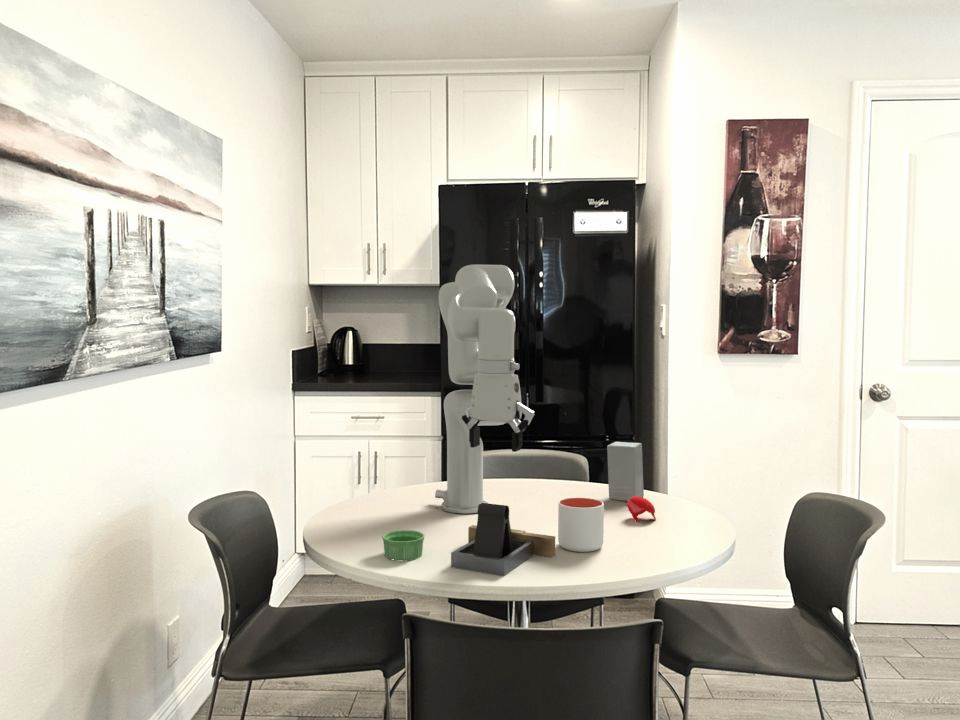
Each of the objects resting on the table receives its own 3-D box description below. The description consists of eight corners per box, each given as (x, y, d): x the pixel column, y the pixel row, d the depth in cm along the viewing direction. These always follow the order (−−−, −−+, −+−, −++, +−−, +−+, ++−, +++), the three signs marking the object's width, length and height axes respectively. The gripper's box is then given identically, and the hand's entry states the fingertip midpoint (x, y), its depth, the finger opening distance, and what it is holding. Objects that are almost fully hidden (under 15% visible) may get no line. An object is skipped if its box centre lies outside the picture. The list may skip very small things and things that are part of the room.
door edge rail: (468, 544, 177) (468, 525, 177) (472, 542, 179) (472, 523, 179) (551, 557, 169) (551, 537, 168) (555, 554, 170) (555, 534, 170)
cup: (592, 556, 169) (592, 510, 169) (550, 549, 175) (550, 504, 174) (610, 545, 178) (610, 501, 177) (570, 538, 183) (570, 495, 183)
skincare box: (644, 498, 222) (644, 442, 222) (634, 503, 216) (635, 446, 216) (615, 494, 227) (616, 440, 226) (605, 499, 221) (606, 443, 220)
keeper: (451, 567, 162) (451, 552, 162) (483, 547, 175) (483, 534, 175) (504, 575, 157) (504, 561, 156) (533, 555, 170) (533, 541, 170)
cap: (627, 511, 195) (648, 499, 195) (621, 497, 201) (642, 486, 200) (641, 533, 198) (662, 521, 198) (635, 519, 204) (655, 508, 203)
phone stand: (489, 553, 171) (489, 498, 171) (514, 557, 169) (515, 501, 168) (471, 565, 163) (471, 507, 163) (497, 569, 161) (497, 511, 160)
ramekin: (389, 564, 164) (389, 543, 164) (377, 552, 172) (377, 532, 172) (430, 559, 168) (430, 538, 167) (416, 547, 176) (416, 528, 176)
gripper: (541, 368, 165) (540, 449, 166) (467, 365, 173) (467, 442, 174) (526, 371, 159) (525, 455, 160) (451, 367, 166) (450, 447, 168)
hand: (495, 448), depth 167 cm, fingers open, 9 cm apart
